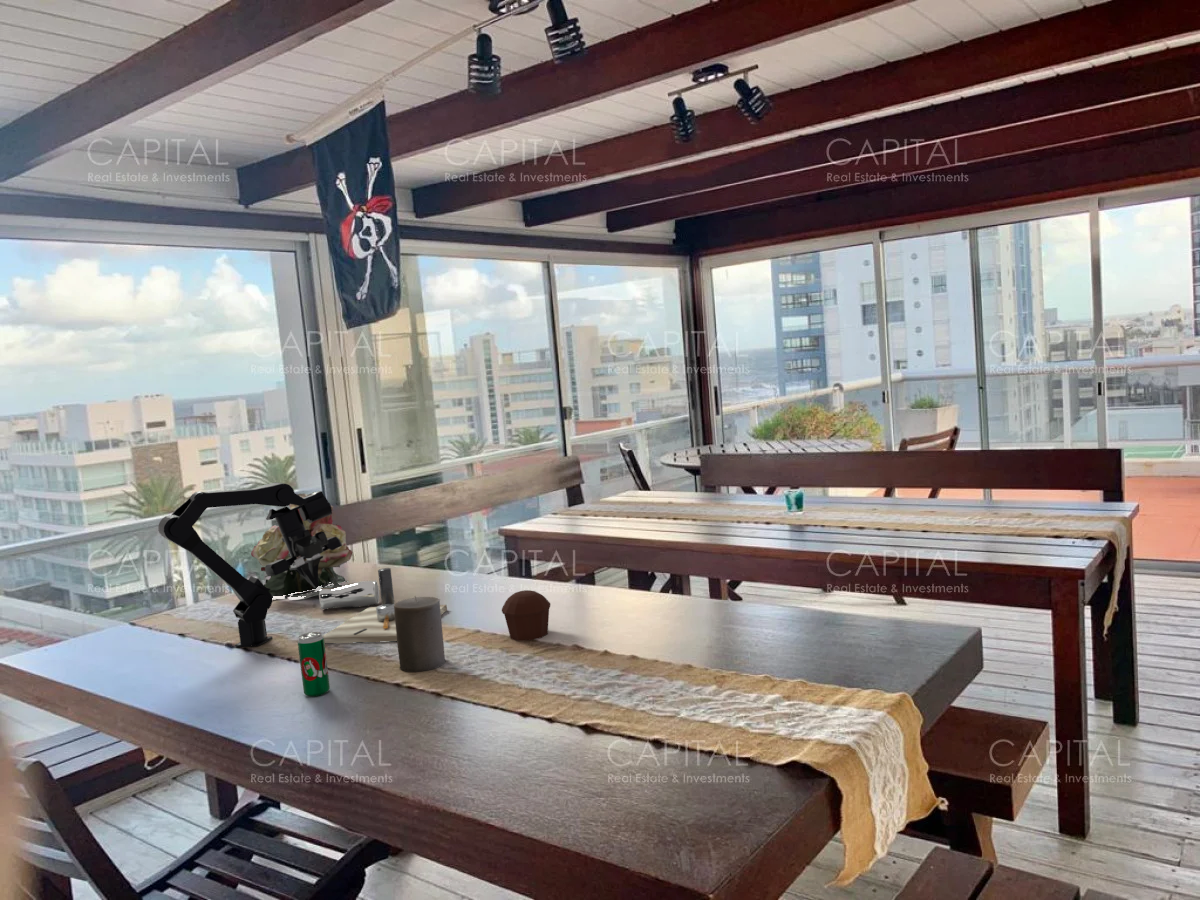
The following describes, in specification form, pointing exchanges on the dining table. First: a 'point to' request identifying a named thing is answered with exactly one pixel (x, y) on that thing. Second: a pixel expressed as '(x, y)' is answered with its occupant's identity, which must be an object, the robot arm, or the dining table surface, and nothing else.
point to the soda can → (313, 664)
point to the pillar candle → (419, 634)
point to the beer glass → (350, 595)
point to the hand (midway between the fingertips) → (316, 587)
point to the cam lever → (386, 597)
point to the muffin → (526, 615)
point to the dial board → (365, 629)
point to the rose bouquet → (293, 582)
